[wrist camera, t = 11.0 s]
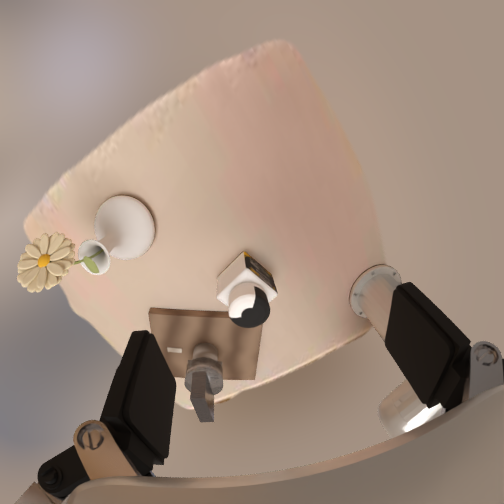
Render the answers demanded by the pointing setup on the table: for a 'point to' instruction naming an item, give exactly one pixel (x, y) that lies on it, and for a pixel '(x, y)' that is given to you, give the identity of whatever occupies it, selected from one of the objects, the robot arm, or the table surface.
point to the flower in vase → (89, 245)
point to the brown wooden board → (206, 341)
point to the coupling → (204, 385)
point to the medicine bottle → (246, 291)
